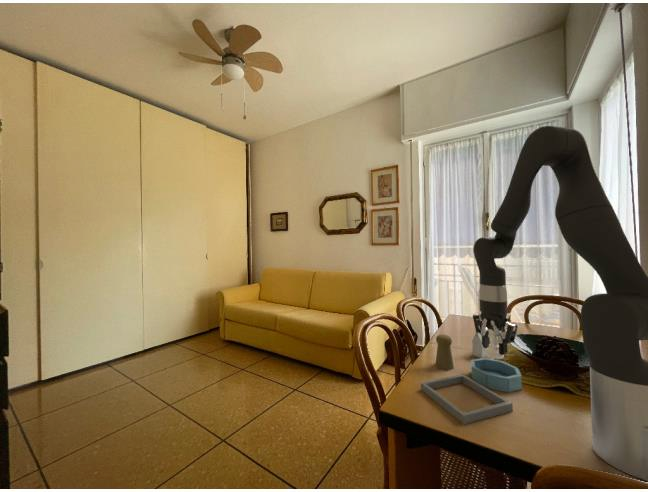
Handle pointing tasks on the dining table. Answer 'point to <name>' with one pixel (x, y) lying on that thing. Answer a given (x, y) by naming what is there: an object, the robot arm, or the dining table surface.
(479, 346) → the grey house block
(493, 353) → the chess pawn
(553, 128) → the robot arm
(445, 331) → the dining table surface
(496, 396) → the grey square frame
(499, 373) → the bowl
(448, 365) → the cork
